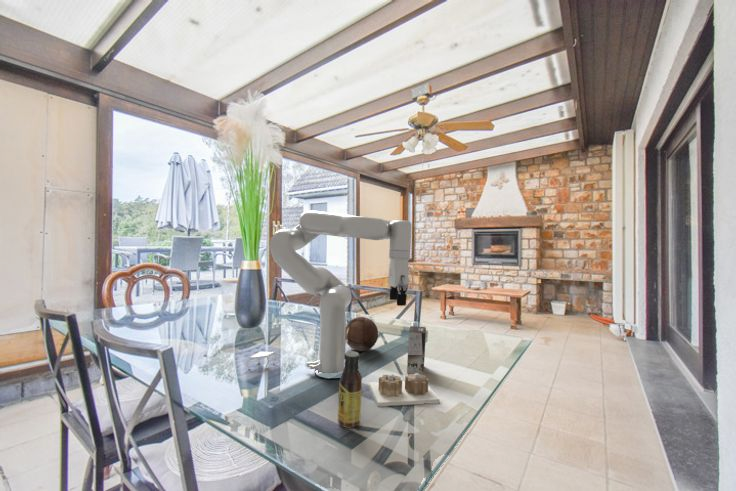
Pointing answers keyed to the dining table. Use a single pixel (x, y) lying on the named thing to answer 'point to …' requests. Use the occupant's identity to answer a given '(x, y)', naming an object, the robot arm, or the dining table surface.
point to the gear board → (406, 392)
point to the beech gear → (390, 386)
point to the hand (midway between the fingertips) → (397, 302)
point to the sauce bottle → (350, 392)
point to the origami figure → (262, 355)
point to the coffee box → (416, 350)
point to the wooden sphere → (361, 333)
